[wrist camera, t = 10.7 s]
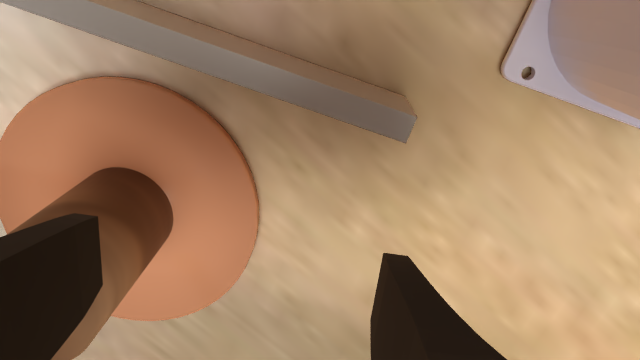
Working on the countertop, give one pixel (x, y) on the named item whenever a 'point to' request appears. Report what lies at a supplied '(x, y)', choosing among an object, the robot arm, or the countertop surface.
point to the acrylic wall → (234, 61)
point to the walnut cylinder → (113, 238)
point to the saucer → (151, 160)
